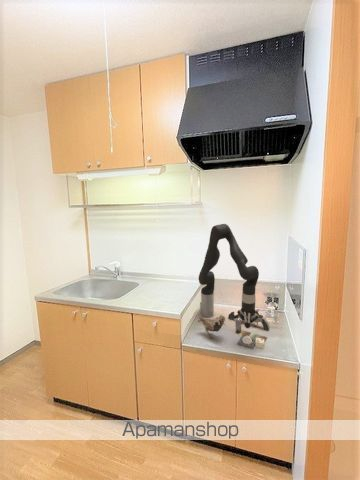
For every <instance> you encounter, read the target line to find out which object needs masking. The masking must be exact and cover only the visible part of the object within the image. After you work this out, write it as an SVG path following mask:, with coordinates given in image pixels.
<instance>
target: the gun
mask: <svg viewBox="0 0 360 480" xmlns="http://www.w3.org/2000/svg"><path fill="white" fill-rule="evenodd" d="M255 311H256V314H257V315H259V317H258V318H257V319H256V320H255V321H254V322H253V323H250V325H251V326H254V327H257V326H258V324H259V323H261V325H262V327H263V330H264V331H267V332H269V331H270V323H269V322H268V320H267V319H266V318H265V317H264V315H263V314H259V311H260V309H259V308H258V309H255ZM242 314H243V313H242ZM254 316H255V315H253V316H252V317H251V320H252V319H253V318H254ZM227 318H228V320H231V321H234V322H236V319H240V320H242V319H241V318H240V316H239V315H238V314H236V315H235V311H231V312H230V313H229V314H228V317H227ZM254 323H255V324H254Z"/></svg>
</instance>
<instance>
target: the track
mask: <svg viewBox="0 0 360 480" xmlns="http://www.w3.org/2000/svg"><path fill="white" fill-rule="evenodd" d="M232 333H233V334H235V335H239V336H241V337H242V336H249V337H250V338H253V339H256V338H261V339H264V343H266V342H267V340H268V338H269V337H268V336H264V335H260V334H257V333H254V332H250V331H247V330H243V329H241V333H236V329H235V330H234V331H233V332H232Z"/></svg>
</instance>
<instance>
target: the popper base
mask: <svg viewBox="0 0 360 480" xmlns="http://www.w3.org/2000/svg"><path fill="white" fill-rule="evenodd" d="M243 337H245V336H242V335H241V337H240V338H239V340H238V341H237V343H236V345H238V346H240V347H244V348H247V349H250V350H253V349H254V347H255V342H256V339H253V338H251V339H252V344H251V345H248V344H244V343H243Z"/></svg>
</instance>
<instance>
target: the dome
mask: <svg viewBox="0 0 360 480" xmlns="http://www.w3.org/2000/svg"><path fill="white" fill-rule="evenodd" d="M242 343H244V344H248V345H251V344H252V339H251V338H250V337H249V336H245V337H243V341H242Z"/></svg>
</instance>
